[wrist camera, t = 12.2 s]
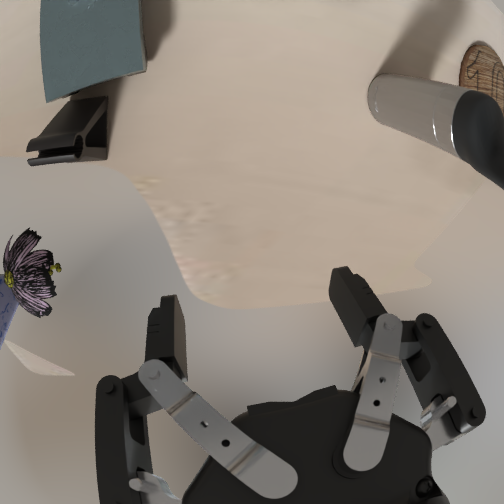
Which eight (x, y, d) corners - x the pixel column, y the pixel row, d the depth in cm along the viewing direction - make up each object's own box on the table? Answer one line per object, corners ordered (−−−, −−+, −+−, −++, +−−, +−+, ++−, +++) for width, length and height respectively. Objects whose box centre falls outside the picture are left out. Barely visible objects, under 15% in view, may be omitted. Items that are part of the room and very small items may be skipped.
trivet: (456, 145, 42) (462, 148, 40) (451, 34, 27) (458, 34, 25) (503, 141, 43) (508, 143, 41) (502, 55, 28) (508, 56, 26)
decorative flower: (-4, 230, 23) (49, 323, 29) (50, 200, 34) (93, 280, 39) (-20, 260, 28) (22, 331, 33) (21, 232, 38) (57, 296, 44)
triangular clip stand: (69, 100, 26) (24, 113, 16) (108, 96, 27) (73, 104, 18) (70, 161, 31) (31, 196, 21) (107, 159, 32) (77, 193, 23)
